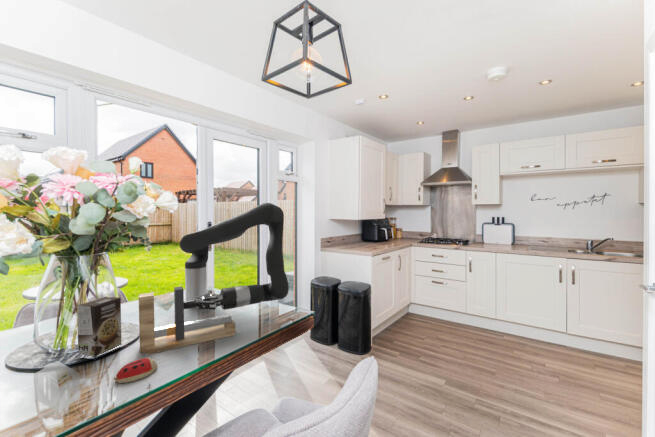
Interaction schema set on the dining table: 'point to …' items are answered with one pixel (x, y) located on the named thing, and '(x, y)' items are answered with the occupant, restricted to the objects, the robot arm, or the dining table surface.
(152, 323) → the wooden track with post
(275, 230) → the robot arm
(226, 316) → the silver metal bar
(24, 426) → the dining table surface
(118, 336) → the coffee box
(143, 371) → the ladybug figurine
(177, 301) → the dark gray slab
